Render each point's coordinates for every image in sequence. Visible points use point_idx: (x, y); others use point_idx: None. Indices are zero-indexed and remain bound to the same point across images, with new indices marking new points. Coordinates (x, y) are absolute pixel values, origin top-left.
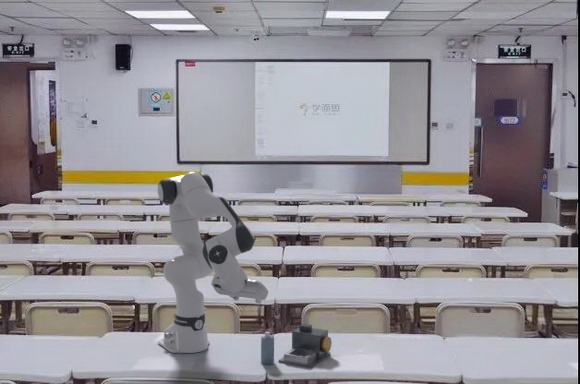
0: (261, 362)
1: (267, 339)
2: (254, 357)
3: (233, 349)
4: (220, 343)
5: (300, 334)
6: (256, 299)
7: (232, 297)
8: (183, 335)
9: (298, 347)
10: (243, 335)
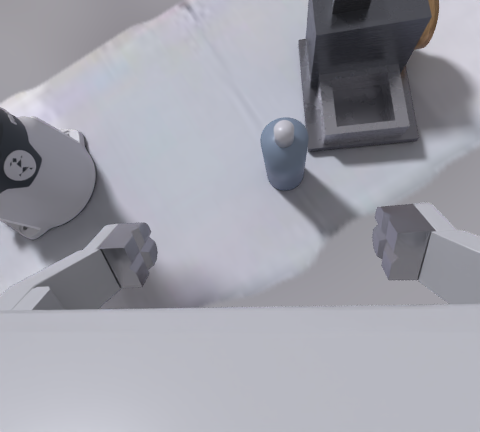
0: (274, 186)
1: (295, 156)
2: (229, 154)
3: (153, 135)
4: (104, 117)
5: (348, 35)
6: (403, 262)
7: (101, 302)
8: (14, 210)
9: (333, 70)
10: (125, 43)
